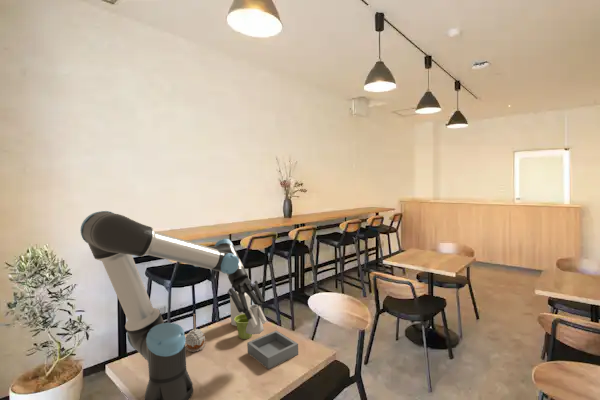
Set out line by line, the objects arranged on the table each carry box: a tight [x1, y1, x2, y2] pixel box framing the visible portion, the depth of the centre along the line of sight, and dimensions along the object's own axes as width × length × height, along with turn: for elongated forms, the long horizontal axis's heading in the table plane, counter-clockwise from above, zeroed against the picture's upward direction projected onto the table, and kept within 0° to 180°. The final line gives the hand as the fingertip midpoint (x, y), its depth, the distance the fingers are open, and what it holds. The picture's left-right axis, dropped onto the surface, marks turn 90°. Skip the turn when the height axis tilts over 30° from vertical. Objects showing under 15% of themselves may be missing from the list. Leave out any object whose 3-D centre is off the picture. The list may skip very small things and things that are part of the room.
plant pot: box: [234, 314, 253, 340], centre depth 148 cm, size 9×9×9 cm
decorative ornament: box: [185, 313, 206, 352], centre depth 138 cm, size 8×8×15 cm
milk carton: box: [229, 291, 252, 327], centre depth 159 cm, size 7×7×19 cm
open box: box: [246, 330, 299, 370], centre depth 133 cm, size 15×15×4 cm
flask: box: [246, 304, 265, 335], centre depth 127 cm, size 7×7×10 cm
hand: (260, 324), depth 124 cm, fingers closed on flask, 3 cm apart
